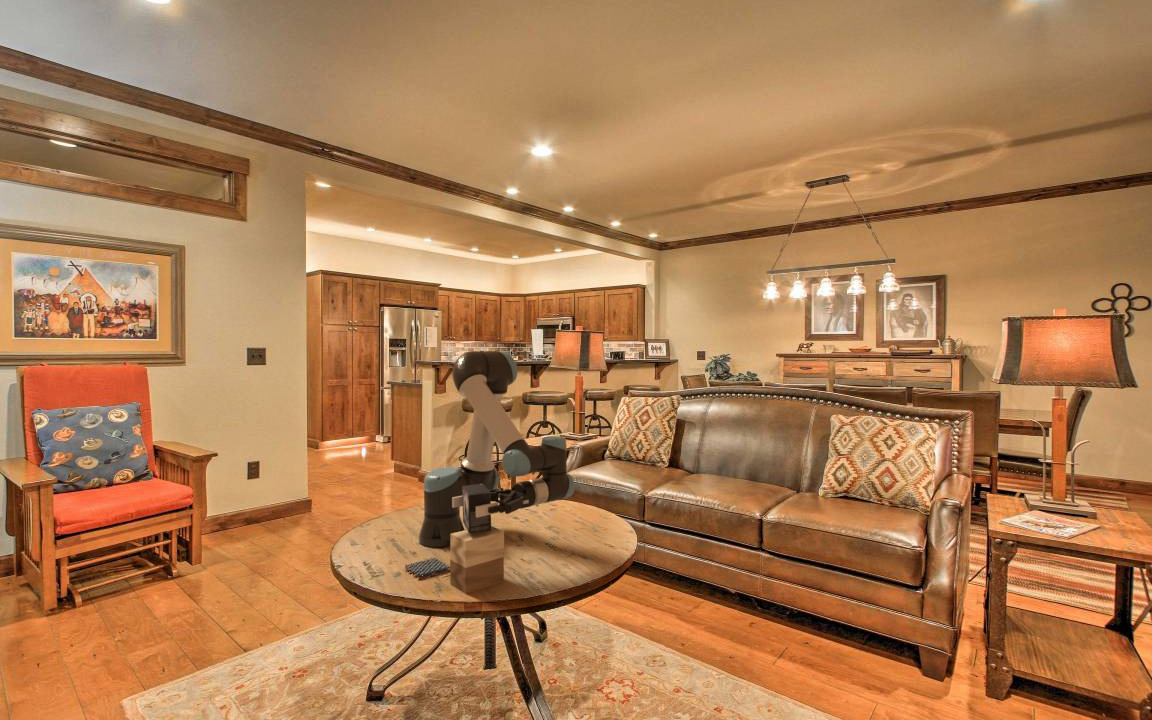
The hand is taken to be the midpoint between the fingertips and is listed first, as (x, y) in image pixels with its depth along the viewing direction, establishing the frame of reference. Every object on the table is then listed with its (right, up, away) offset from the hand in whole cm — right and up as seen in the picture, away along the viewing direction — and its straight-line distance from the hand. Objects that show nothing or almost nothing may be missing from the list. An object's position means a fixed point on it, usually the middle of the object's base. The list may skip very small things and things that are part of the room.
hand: (464, 507), depth 150 cm
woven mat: (-13, -22, +12) cm, 28 cm away
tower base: (+3, -22, +3) cm, 22 cm away
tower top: (+3, -15, +3) cm, 15 cm away
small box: (+3, -6, +3) cm, 7 cm away
